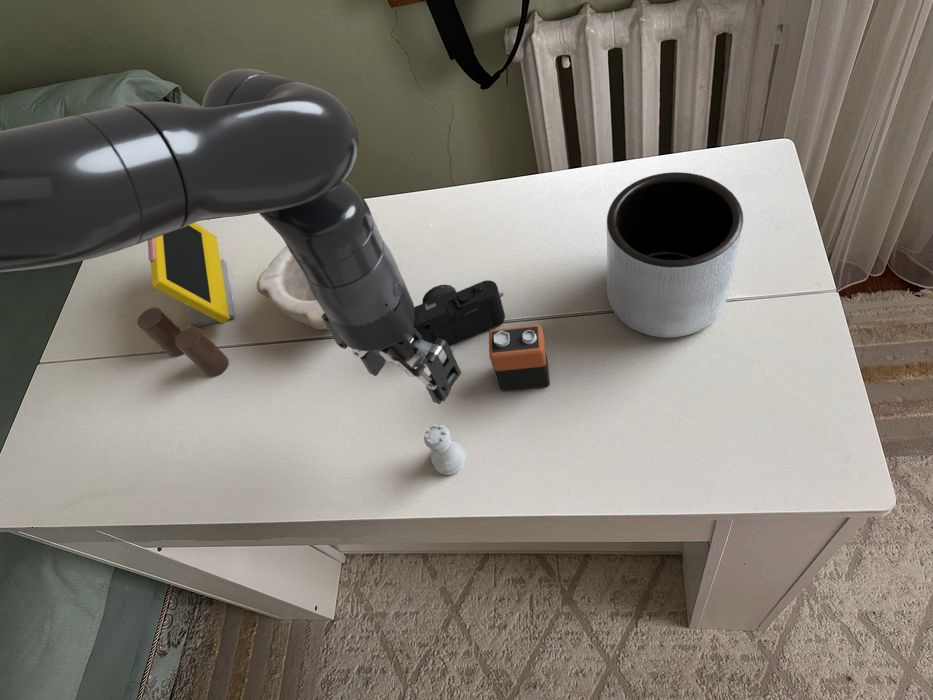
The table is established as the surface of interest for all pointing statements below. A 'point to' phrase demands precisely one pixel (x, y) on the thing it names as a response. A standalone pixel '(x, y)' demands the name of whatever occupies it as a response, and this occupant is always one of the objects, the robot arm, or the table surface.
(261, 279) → the mortar
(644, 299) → the planter
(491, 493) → the table surface
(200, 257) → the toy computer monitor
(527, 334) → the battery
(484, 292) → the camera
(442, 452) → the rook chess piece
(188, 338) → the near post
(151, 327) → the far post
